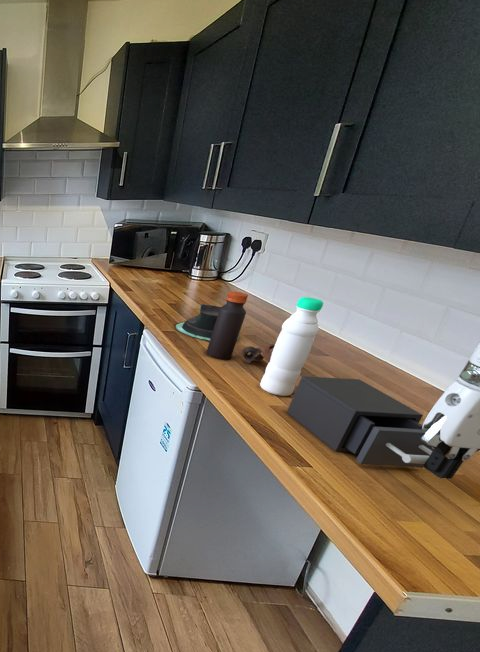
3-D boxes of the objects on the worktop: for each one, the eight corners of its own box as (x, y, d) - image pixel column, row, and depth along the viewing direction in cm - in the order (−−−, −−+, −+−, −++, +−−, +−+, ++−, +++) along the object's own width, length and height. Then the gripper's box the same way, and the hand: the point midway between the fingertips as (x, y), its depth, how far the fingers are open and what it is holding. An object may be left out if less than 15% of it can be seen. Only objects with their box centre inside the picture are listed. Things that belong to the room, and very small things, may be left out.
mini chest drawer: (449, 486, 72) (474, 451, 69) (383, 482, 73) (404, 446, 69) (362, 427, 89) (378, 396, 86) (309, 423, 89) (323, 393, 86)
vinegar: (225, 361, 121) (247, 298, 113) (202, 354, 126) (221, 292, 118) (234, 356, 125) (255, 294, 117) (211, 349, 130) (230, 289, 122)
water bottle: (256, 389, 105) (291, 298, 95) (262, 381, 110) (296, 293, 100) (288, 400, 101) (328, 305, 91) (293, 391, 106) (332, 299, 95)
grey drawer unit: (399, 455, 82) (423, 415, 78) (335, 451, 82) (356, 411, 78) (341, 415, 95) (359, 379, 91) (286, 412, 96) (302, 376, 91)
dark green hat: (172, 316, 157) (229, 324, 152) (172, 353, 146) (233, 363, 141) (185, 288, 145) (247, 296, 140) (186, 326, 134) (253, 336, 129)
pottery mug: (268, 362, 123) (290, 346, 117) (274, 386, 118) (298, 371, 111) (231, 349, 123) (251, 333, 117) (235, 373, 118) (257, 357, 111)
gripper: (475, 389, 59) (413, 485, 66) (581, 394, 58) (506, 491, 66) (424, 366, 65) (373, 456, 73) (518, 371, 65) (457, 461, 73)
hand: (436, 472), depth 69 cm, fingers closed
